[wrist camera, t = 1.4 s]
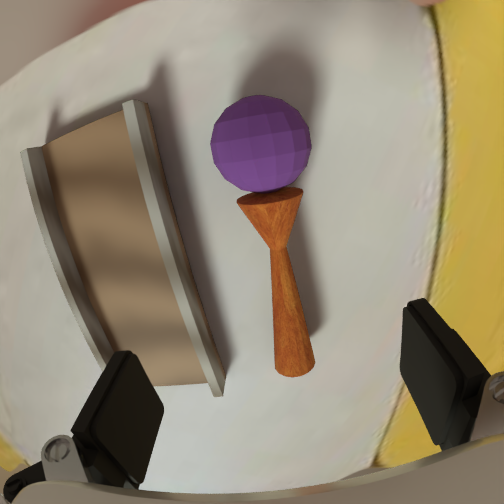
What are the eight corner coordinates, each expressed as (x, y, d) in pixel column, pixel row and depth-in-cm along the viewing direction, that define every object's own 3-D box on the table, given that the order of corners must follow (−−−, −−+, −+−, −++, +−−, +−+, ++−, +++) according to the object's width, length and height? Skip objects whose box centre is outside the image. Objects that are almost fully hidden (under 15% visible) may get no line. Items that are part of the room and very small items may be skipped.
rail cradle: (226, 375, 28) (222, 396, 25) (128, 382, 29) (119, 400, 26) (147, 103, 20) (132, 99, 17) (40, 149, 21) (20, 152, 19)
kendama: (252, 389, 23) (187, 105, 15) (265, 341, 28) (219, 107, 21) (331, 388, 21) (299, 83, 14) (331, 338, 27) (303, 93, 19)
